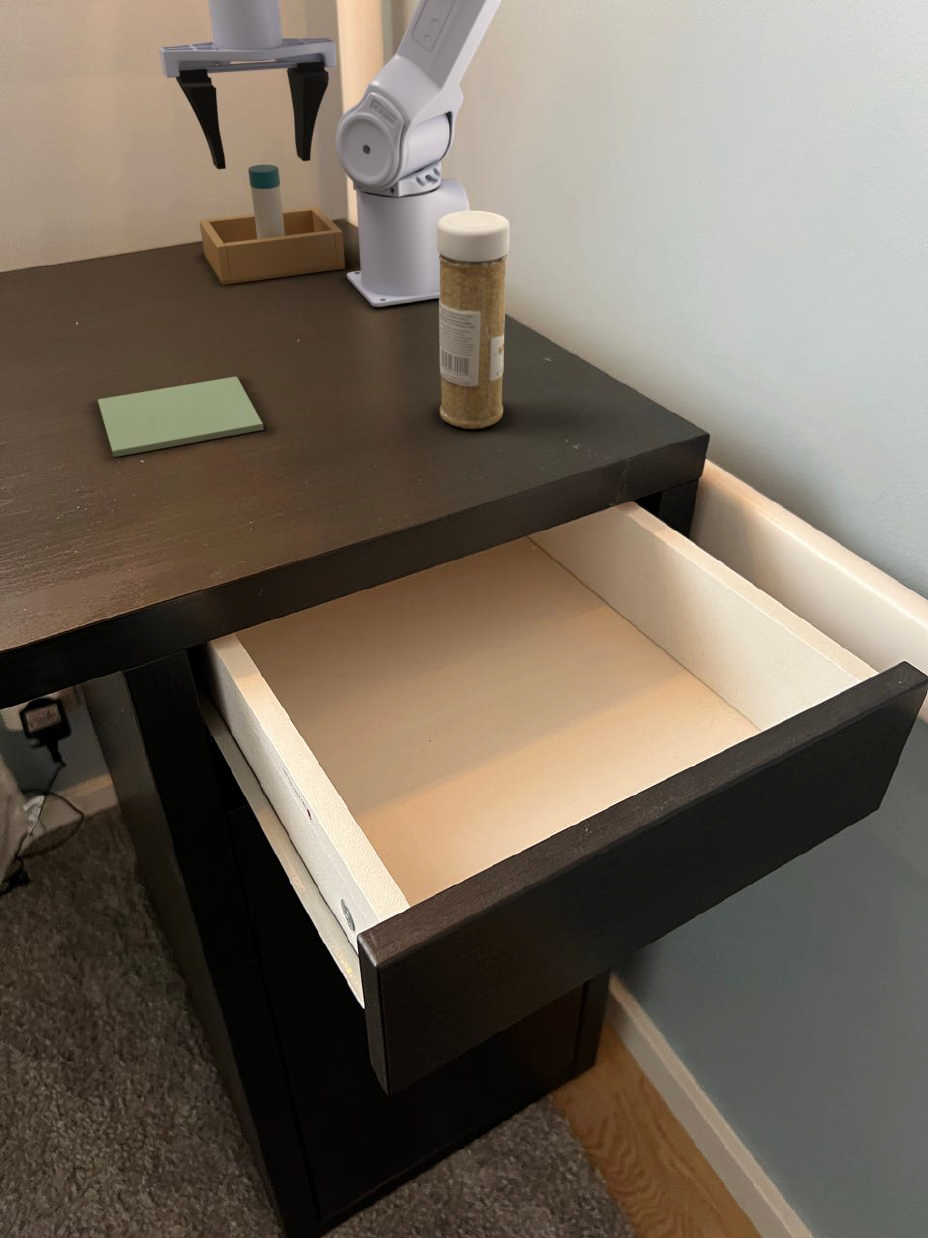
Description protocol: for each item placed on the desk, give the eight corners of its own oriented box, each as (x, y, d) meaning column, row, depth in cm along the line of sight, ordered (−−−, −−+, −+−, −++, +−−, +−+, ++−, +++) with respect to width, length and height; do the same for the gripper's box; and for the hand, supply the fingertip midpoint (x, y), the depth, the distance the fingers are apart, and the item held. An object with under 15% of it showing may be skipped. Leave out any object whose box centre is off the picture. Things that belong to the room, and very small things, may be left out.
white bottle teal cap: (283, 251, 93) (274, 162, 88) (291, 260, 91) (281, 170, 86) (256, 255, 92) (244, 165, 87) (263, 264, 90) (251, 173, 85)
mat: (237, 382, 72) (236, 375, 71) (263, 429, 66) (262, 423, 66) (99, 405, 69) (97, 398, 68) (113, 457, 63) (112, 450, 63)
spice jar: (515, 420, 67) (525, 222, 59) (461, 437, 65) (463, 235, 57) (479, 395, 70) (483, 203, 62) (426, 411, 68) (422, 215, 60)
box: (320, 241, 96) (317, 206, 94) (345, 268, 91) (342, 231, 88) (204, 256, 93) (198, 219, 91) (222, 284, 87) (216, 246, 85)
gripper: (314, -28, 83) (327, 144, 91) (142, -22, 78) (172, 158, 87) (339, -18, 78) (350, 162, 86) (156, -11, 73) (187, 178, 82)
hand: (262, 162), depth 86 cm, fingers open, 7 cm apart
